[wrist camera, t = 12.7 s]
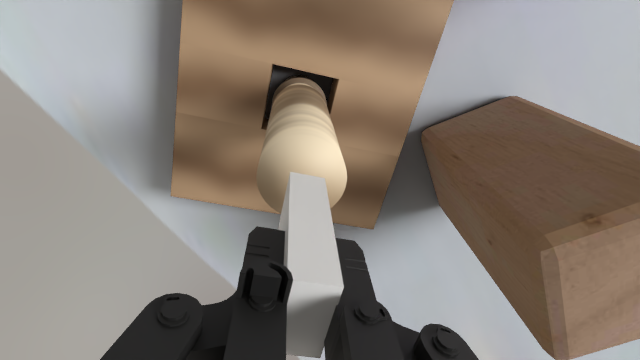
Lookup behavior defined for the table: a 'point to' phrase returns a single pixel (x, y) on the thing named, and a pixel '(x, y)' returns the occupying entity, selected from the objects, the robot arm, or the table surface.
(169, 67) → the table surface
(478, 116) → the wooden block
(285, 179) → the peg
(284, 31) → the board
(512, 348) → the table surface
